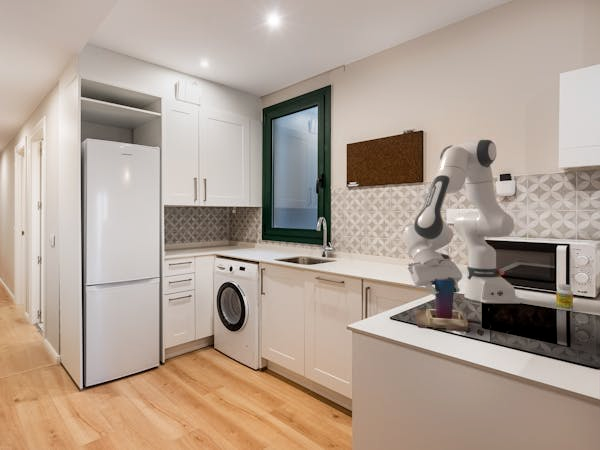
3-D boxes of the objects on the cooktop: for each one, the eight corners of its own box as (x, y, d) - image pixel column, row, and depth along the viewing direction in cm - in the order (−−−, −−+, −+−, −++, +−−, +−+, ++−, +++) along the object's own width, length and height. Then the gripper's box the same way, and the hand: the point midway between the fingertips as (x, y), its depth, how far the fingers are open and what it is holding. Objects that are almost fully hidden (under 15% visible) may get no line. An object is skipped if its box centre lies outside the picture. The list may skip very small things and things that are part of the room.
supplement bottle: (571, 307, 143) (572, 284, 142) (574, 311, 138) (574, 287, 138) (555, 306, 145) (555, 283, 145) (557, 309, 141) (557, 285, 140)
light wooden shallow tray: (457, 314, 135) (458, 307, 135) (468, 330, 117) (468, 321, 117) (414, 312, 139) (414, 304, 139) (417, 327, 121) (417, 318, 121)
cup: (437, 315, 131) (438, 275, 130) (457, 319, 127) (457, 277, 126) (431, 320, 126) (431, 278, 125) (450, 323, 121) (451, 281, 121)
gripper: (409, 258, 128) (427, 290, 119) (453, 255, 135) (473, 285, 126) (401, 268, 132) (419, 300, 123) (444, 265, 139) (463, 295, 130)
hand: (447, 293), depth 125 cm, fingers open, 8 cm apart
